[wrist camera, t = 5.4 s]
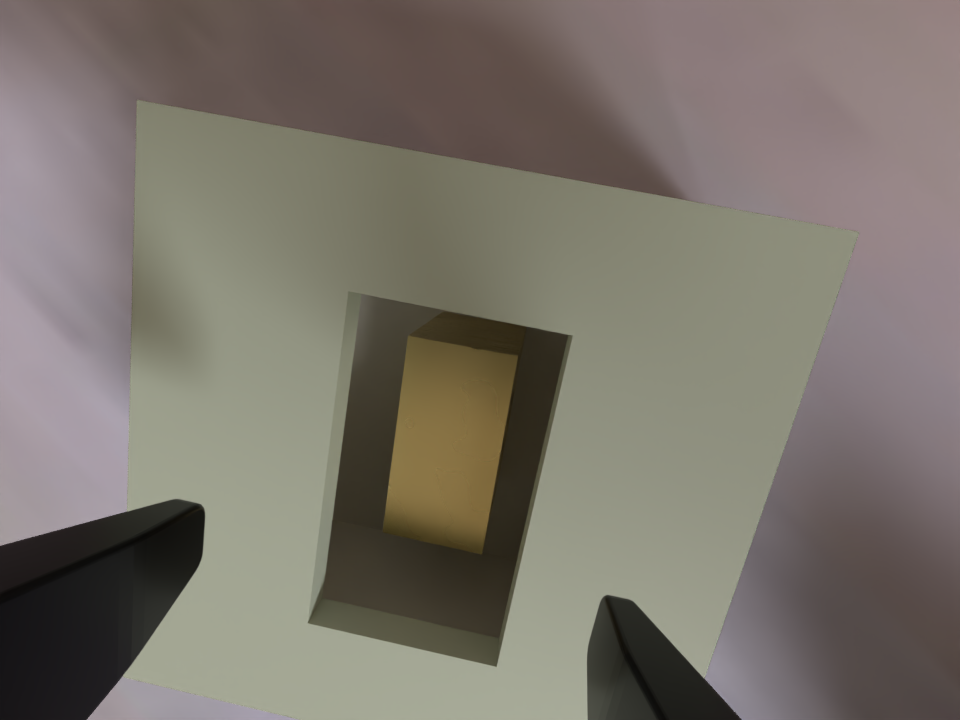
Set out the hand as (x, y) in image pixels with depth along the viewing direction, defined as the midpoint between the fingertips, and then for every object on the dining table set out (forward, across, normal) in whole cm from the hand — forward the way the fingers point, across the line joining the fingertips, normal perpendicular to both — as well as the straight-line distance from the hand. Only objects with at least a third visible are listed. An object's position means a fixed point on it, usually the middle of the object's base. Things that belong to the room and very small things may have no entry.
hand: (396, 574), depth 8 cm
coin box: (+10, 0, 0) cm, 10 cm away
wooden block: (+9, 0, 0) cm, 9 cm away
